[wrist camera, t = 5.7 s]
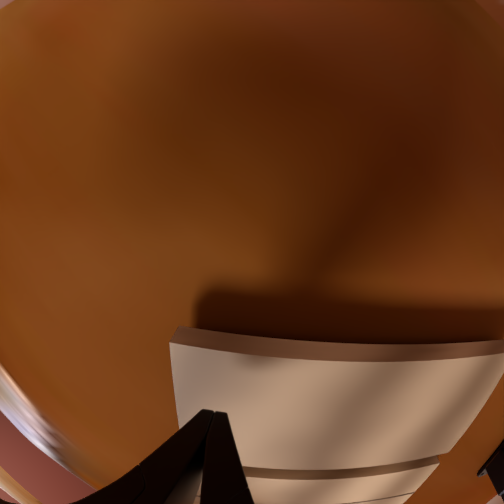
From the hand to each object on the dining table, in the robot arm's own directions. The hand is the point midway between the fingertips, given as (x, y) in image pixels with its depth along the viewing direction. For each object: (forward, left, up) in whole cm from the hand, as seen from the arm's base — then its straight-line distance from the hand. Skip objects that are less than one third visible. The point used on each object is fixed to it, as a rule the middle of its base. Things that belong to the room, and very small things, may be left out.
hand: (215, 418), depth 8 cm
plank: (-6, +2, -3) cm, 7 cm away
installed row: (-6, +12, -4) cm, 13 cm away
